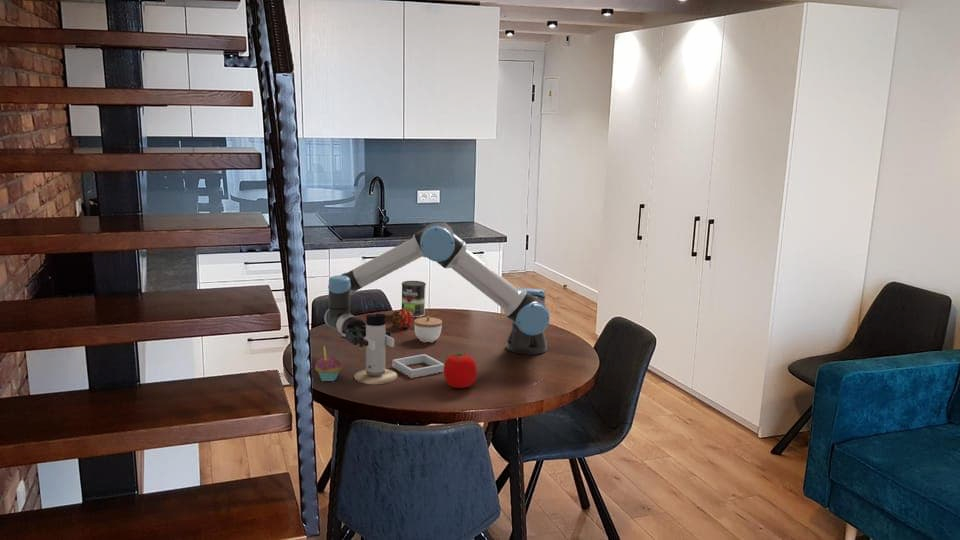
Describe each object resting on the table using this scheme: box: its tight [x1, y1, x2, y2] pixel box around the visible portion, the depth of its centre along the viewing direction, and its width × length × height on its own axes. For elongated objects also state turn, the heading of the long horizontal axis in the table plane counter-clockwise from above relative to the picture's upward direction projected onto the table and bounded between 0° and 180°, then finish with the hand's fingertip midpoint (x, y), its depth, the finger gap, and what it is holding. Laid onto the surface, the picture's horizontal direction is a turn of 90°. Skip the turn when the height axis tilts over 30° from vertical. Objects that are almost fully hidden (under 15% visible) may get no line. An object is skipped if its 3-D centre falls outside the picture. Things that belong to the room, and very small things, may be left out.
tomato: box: [443, 352, 478, 389], centre depth 235 cm, size 10×11×11 cm
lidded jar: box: [413, 315, 443, 343], centre depth 283 cm, size 11×11×9 cm
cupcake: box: [314, 344, 343, 382], centre depth 237 cm, size 9×8×12 cm
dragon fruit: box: [390, 308, 415, 330], centre depth 299 cm, size 8×8×12 cm
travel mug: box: [365, 313, 387, 376], centre depth 239 cm, size 6×7×20 cm
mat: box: [353, 368, 398, 385], centre depth 242 cm, size 14×14×1 cm
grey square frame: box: [391, 353, 445, 379], centre depth 250 cm, size 13×13×2 cm
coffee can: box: [401, 280, 427, 318], centre depth 319 cm, size 10×10×14 cm
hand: (383, 344), depth 235 cm, fingers closed on travel mug, 6 cm apart
